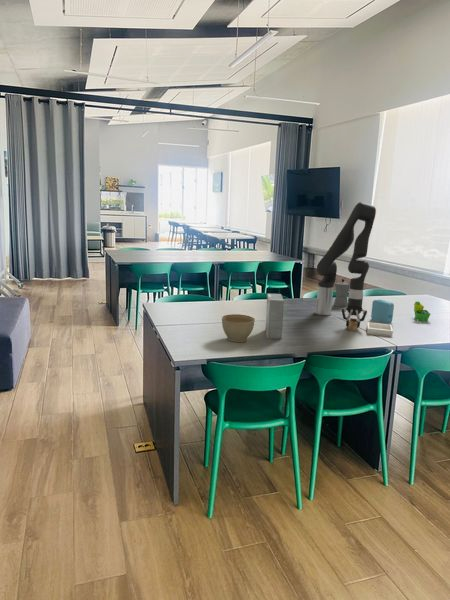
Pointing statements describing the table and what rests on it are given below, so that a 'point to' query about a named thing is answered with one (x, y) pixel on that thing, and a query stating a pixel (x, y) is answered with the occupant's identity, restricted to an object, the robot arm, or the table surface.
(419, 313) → the fruit basket
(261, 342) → the table surface
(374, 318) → the blue rounded block
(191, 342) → the table surface
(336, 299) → the coffeepot
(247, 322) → the planter bowl
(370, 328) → the large crate
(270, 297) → the hard drive box
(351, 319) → the small crate
